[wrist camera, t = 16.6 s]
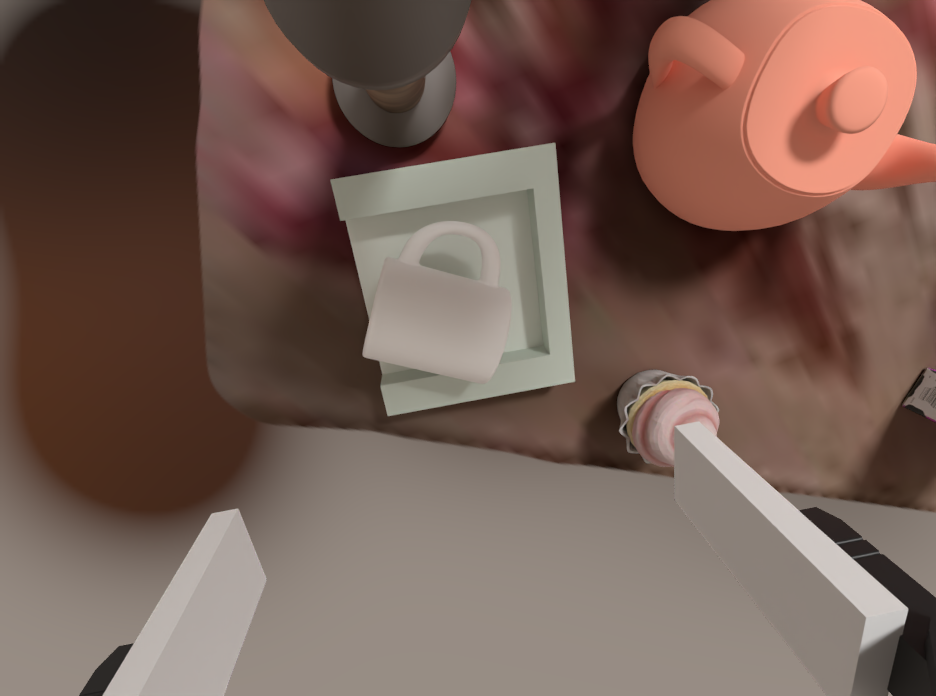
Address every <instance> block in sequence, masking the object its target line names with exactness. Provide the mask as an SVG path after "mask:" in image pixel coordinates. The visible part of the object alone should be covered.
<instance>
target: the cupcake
mask: <svg viewBox="0 0 936 696" xmlns="http://www.w3.org/2000/svg"><path fill="white" fill-rule="evenodd" d="M712 396H713V392H712V389H711V388H710V387H708V386H701V385H699V382H698V380H697V379H696V378H695V377H693V376H679V375H674V374H670V373H667V372H664V371H660V370H647V371H643V372H640V373H637V374H635V375H634V376H632V377H631V378H630V379H628V380H627V381H626V382H625V383H624V385H623V386H622V388H621V390H620V392H619V395H618V398H617V409H618V414H619V416H620V419H621V423H620V428H619V432H620V434H621V435H623V436H624V437H626V444H627V452H629V453H636V454H640V455H641V456H642V458H643V460H644V462H645V463H646V464H647V463H653V464H655V465H658V466H661V467H673V466H674V426H677V425H683V424H688V423H693V422H698V421H699V422H700V423H701V424H702V425H704V426H705V427H706V428H707V429H708V430H709V431H710V432H711V433H713V434H714V435H715V436H716V435H717V431H718V427H719V422H720V421H719V416H718V411H719V408H718V406H717V405H715V404H714V403H713V402H712Z"/></svg>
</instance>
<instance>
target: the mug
mask: <svg viewBox="0 0 936 696" xmlns="http://www.w3.org/2000/svg"><path fill="white" fill-rule="evenodd" d="M447 234H454V235H461V236H465V237H468V238H470V239H472V240H474V241H475V242H476V243H477V244H478V246H479V247H480V250H481V254H482V269H481V276H480V279H479V280H473V279H469V278H465V277H462V276H458V275H454V274H451V273H447V272H443V271H439V270H436V269H432V268H428V267H424V266H421V265H420V264H419V261H420V258H421V256H422V254H423V252H424V251H425V249H426V247H427V246H428V245H429V244H430V243H431V242H432V241H433V240H434V239H436V238H437V237H439V236H442V235H447ZM499 277H500V254H499V250H498V247H497V245H496V243H495V241H494V240H493V238H492V237H491V236H490V235H489V234H488V233H487V232H486V231H484V230H483V229H481V228H479V227H477V226H475V225H472V224H469V223H465V222H458V221H443V222H437V223H433V224H430V225H427V226H425V227H423V228H421V229H420V230H418V231H417V232H416V233H414V234H413V235H412V236H411V238H410V239H409V240H408V241H407V243H406V245H405V246H404V248H403V250H402V252H401V255H400V257H399V258H398V259H395V258H391V257H387V258H385V261H384V264H383V267H382V271H381V275H380V279H379V283H378V287H377V291H376V295H375V299H374V303H373V308H372V312H371V316H370V320H369V325H368V329H367V333H366V338H365V342H364V347H363V353H362V355H363V357H365V358H369V359H373V360H378V361H382V362H387V363H391V364H395V365H400V366H404V367H409V368H413V369H417V370H422V371H426V372H431V373H435V374H440V375H444V376H448V377H453V378H457V379H462V380H466V381H470V382H475V383H479V384H485V383H487V382H488V381H489V380H490V379H491V378H492V376H493V375H494V373H495V371H496V369H497V367H498V365H499V363H500V360H501V357H502V354H503V351H504V348H505V345H506V341H507V337H508V332H509V327H510V321H511V312H512V300H511V295H510V292H509V291H508V290H507V289H506V288H503V287H499V285H498V282H499Z"/></svg>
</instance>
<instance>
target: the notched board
mask: <svg viewBox="0 0 936 696" xmlns="http://www.w3.org/2000/svg"><path fill="white" fill-rule="evenodd" d="M330 181H331V185H332V189H333V193H334V197H335V201H336V206H337V210H338V214H339V218H340V221H343V220H345V221H346V225H347V229H348V233H349V237H350V242H351V246H352V250H353V254H354V258H355V263H356V267H357V271H358V275H359V279H360V283H361V288H362V292H363V296H364V300H365V304H366V309H367V313H368V317H369V320H370V316H371V312H372V308H373V303H374V299H375V295H376V291H377V287H378V283H379V279H380V275H381V271H382V267H383V264H384V261H385V258H387V257H391V258H395V259H398V258H399V257H400V255H401V252H402V250H403V248H404V246H405V245H406V243H407V241H408V240H409V239H410V238H411V236H412V235H413V234H414V233H416V232H417V231H418V230H420V229H421V228H423V227H425V226H427V225H430V224H433V223H437V222H443V221H458V222H465V223H469V224H472V225H475V226H477V227H479V228H481V229H483V230H484V231H486V232H487V233H488V234H489V235H490V236H491V237H492V238H493V240H494V241H495V243H496V245H497V247H498V250H499V254H500V277H499V282H498V285H499V287H503V288H506V289H507V290H508V291H509V292H510V295H511V300H512V312H511V321H510V327H509V332H508V337H507V341H506V345H505V348H504V351H503V354H502V357H501V360H500V363H499V365H498V367H497V369H496V371H495V373H494V375H493V376H492V378H491V379H490V380H489V381H488V382H487V383H485V384H479V383H475V382H470V381H466V380H462V379H457V378H453V377H448V376H444V375H440V374H435V373H431V372H426V371H422V370H417V369H413V368H409V367H404V366H400V365H395V364H391V363H387V362H382V361H379V363H380V367H381V371H382V379H381V385H380V387H381V391H382V395H383V399H384V403H385V407H386V411H387V416H392V415H398V414H403V413H409V412H414V411H419V410H425V409H430V408H436V407H441V406H446V405H452V404H457V403H462V402H468V401H473V400H479V399H484V398H489V397H495V396H500V395H506V394H511V393H516V392H522V391H527V390H533V389H538V388H543V387H549V386H554V385H560V384H565V383H570V382H575V375H574V363H573V351H572V338H571V326H570V314H569V302H568V290H567V278H566V266H565V253H564V241H563V229H562V217H561V205H560V193H559V180H558V168H557V156H556V144H555V143H549V144H543V145H537V146H531V147H525V148H519V149H513V150H507V151H501V152H495V153H488V154H482V155H476V156H470V157H464V158H458V159H452V160H446V161H440V162H434V163H428V164H422V165H416V166H410V167H404V168H398V169H391V170H385V171H379V172H373V173H367V174H361V175H355V176H349V177H343V178H337V179H331V180H330ZM419 264H420V265H421V266H424V267H428V268H432V269H436V270H439V271H443V272H447V273H451V274H454V275H458V276H462V277H465V278H469V279H473V280H479V279H480V276H481V269H482V254H481V250H480V247H479V246H478V244H477V243H476V242H475V241H474V240H472V239H470V238H468V237H465V236H461V235H454V234H447V235H442V236H439V237H437V238H436V239H434V240H433V241H432V242H431V243H430V244H429V245H428V246H427V247H426V249H425V251H424V252H423V254H422V256H421V258H420V261H419Z"/></svg>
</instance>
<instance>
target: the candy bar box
mask: <svg viewBox="0 0 936 696" xmlns="http://www.w3.org/2000/svg"><path fill="white" fill-rule="evenodd" d="M902 406H903V407H905V408H907V409H909V410H911V411H913V412H915V413H918V414H920V415H922V416H924V417H926V418H928V419H930V420H932V421H934V422H936V370H933V369H930V368H926V369H925V370H924V372H923V373H922V375H921V376H920V378H919V379H918V381H917V382H916V384H915V386H914V387H913V388H912V389H911V391H910V393H909V394H908V395H907V397H906V399H905V401H904V402H903V404H902Z"/></svg>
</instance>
